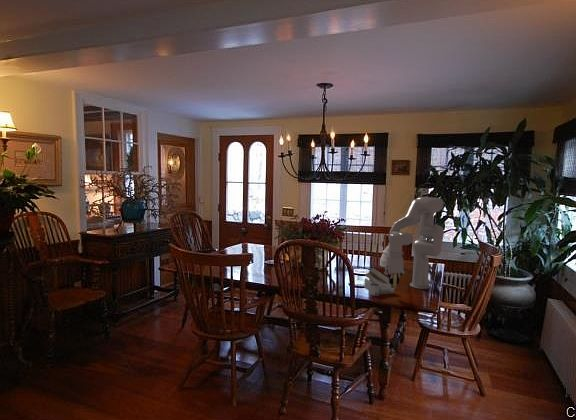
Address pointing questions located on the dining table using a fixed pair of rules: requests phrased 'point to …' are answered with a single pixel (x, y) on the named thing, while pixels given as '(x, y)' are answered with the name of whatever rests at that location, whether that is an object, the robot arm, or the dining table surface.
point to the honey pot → (384, 256)
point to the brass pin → (394, 280)
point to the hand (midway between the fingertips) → (393, 283)
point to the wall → (377, 277)
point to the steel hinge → (378, 288)
